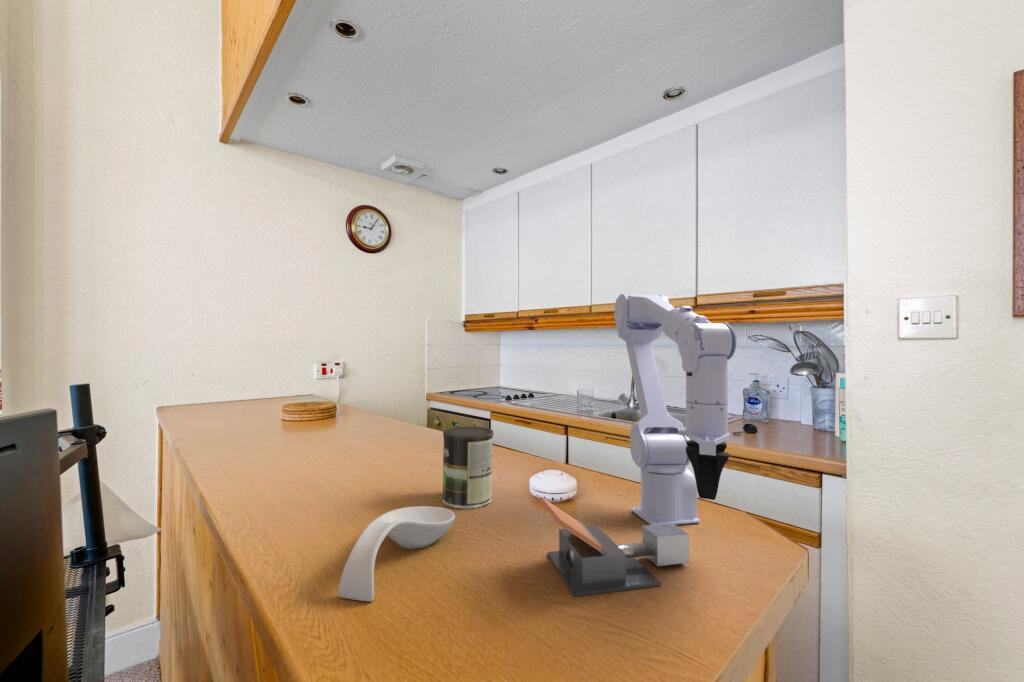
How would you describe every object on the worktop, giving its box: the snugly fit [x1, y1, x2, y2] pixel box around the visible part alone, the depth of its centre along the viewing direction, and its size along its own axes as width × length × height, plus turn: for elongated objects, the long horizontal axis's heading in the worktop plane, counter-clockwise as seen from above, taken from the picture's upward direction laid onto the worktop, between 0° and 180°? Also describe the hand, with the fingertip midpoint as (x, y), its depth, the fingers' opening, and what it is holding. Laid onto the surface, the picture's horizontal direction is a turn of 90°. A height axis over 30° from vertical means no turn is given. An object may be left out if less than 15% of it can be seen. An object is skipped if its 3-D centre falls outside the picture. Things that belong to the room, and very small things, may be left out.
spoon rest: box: [337, 505, 456, 602], centre depth 62 cm, size 24×12×7 cm, turn 168°
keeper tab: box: [538, 496, 608, 556], centre depth 58 cm, size 8×9×1 cm
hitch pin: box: [569, 523, 690, 567], centre depth 59 cm, size 17×4×4 cm, turn 103°
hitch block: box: [546, 525, 662, 598], centre depth 58 cm, size 12×11×4 cm
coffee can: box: [441, 426, 494, 510], centre depth 86 cm, size 10×10×14 cm
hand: (706, 493), depth 62 cm, fingers open, 4 cm apart
